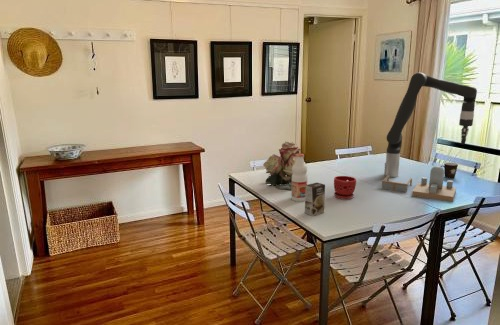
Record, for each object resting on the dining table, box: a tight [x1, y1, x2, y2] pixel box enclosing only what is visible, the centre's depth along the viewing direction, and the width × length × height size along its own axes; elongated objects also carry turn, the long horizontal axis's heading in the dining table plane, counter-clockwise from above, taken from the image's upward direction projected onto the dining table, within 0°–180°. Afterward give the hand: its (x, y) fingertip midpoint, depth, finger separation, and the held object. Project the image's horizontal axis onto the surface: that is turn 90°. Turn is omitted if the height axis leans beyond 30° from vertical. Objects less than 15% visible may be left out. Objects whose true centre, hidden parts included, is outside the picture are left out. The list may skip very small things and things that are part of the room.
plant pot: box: [333, 175, 357, 200], centre depth 224 cm, size 13×13×12 cm
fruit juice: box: [290, 152, 308, 202], centre depth 219 cm, size 9×9×28 cm
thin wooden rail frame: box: [380, 175, 413, 193], centre depth 242 cm, size 16×17×5 cm
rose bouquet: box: [263, 141, 301, 190], centre depth 248 cm, size 26×29×30 cm
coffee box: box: [304, 182, 326, 217], centre depth 198 cm, size 9×6×16 cm
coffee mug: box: [439, 161, 459, 180], centre depth 261 cm, size 12×9×10 cm
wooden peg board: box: [411, 165, 457, 202], centre depth 225 cm, size 22×21×17 cm
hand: (463, 143), depth 238 cm, fingers open, 8 cm apart
